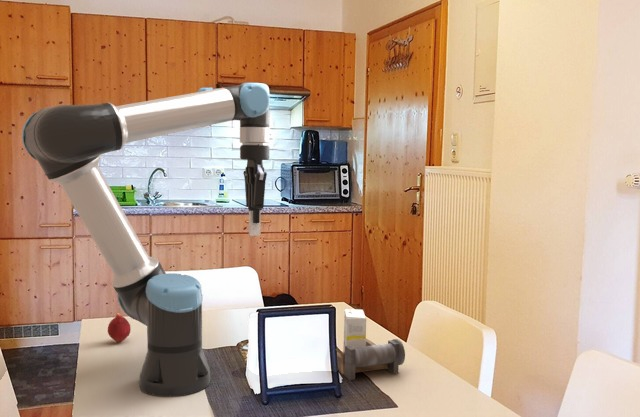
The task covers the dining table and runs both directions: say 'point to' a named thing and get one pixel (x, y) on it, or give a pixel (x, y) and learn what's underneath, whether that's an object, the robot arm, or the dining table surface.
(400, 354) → the grey roller holder
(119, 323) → the onion
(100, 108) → the robot arm
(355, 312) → the ink box
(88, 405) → the dining table surface
